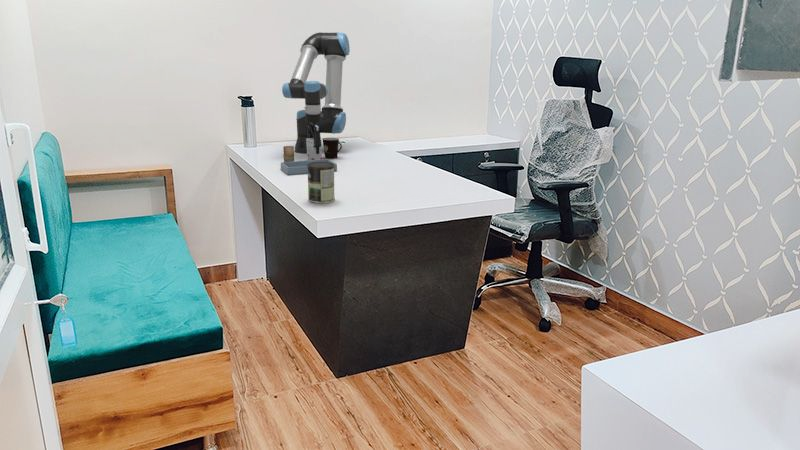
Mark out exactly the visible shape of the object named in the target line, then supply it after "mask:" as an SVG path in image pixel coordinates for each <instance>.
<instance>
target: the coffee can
mask: <svg viewBox="0 0 800 450" xmlns="http://www.w3.org/2000/svg"><path fill="white" fill-rule="evenodd" d="M307 167H308V174H307V184H308V185H307V186H308V187H307V190H308V193H307V194H308V202H309V203H312V202H316V203H315V204H328V203H329V202H330V203H333V202H334V201H335V172H334V164H333V163H330V162H313V163H309V164H307Z"/></svg>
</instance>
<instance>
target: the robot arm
mask: <svg viewBox="0 0 800 450" xmlns="http://www.w3.org/2000/svg"><path fill="white" fill-rule="evenodd" d="M350 48H351V47H350V41H349V38H348V35H347V34H346V33H344V32H321V31H320V32H315V33H313V34H312V35H310V36H308V37H307V39H305V40H304V41H303V43H302V44H301V48H300V49H299V50H300V51H299V52H300V55H299V58H298V61H297V63H296V66H295V67H294V70H293V73H292V76H291V78H290V81H289V82H285V83H283V85H282V88H281V92H282V95H283V97H284V98H286V99H295V100H296V99H299V100H300V99H303V100H304V103H305V106H304V107H303V108H304V109H299V110H298V111H297V112H296V133H297V134H296V135H297V136H296V137H297V138H296V141H295V145H294V153H298V154H307V144H306V139H307V138H314V144H315V146H314V157H315V160H320V147H321V141H322V139H321V134H341V133H343V131H344V130H345V127H346V123H347V115H346V112H345V111H344V108H343V107H342V106H341V104H342V103H341V100H342V83H343V82H342V81H343V80H342V79H343V63H344V61H346V59H347V57H348V56H349V55H350V53H351V52H350ZM320 55H322V56H323V58H324V59H325V60H326V71H325V72H326V73H325V76H326V77H325V84H324V83H321V82H320V81H318V80H308V77H309V74H310V72H311V69H312V66H313V63H314V61H315V60H316V59H317V58H318V57H319V56H320ZM322 99H324V105H323V106H322V103H321V100H322Z"/></svg>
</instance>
